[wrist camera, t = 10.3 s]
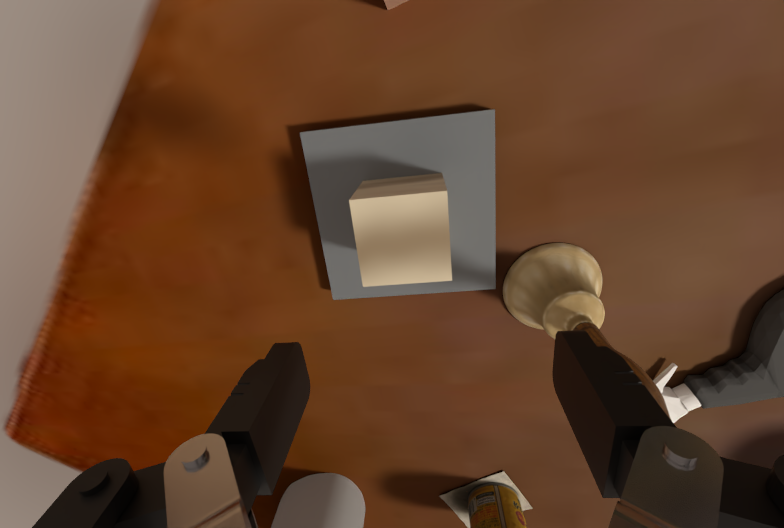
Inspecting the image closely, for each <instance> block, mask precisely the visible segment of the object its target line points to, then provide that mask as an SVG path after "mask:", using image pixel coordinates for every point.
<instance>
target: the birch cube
mask: <svg viewBox="0 0 784 528" xmlns="http://www.w3.org/2000/svg"><path fill="white" fill-rule="evenodd" d="M349 204H350V210H351V216H352V222H353V229H354V235H355V241H356V247H357V254H358V260H359V266H360V272H361V278H362V285H363V287H369V286H383V285H397V284H412V283H426V282H441V281H452V269H451V250H450V232H449V214H448V196H447V188H446V185H445V181H444V178H443V175H442V173H436V174H426V175H416V176H406V177H396V178H386V179H376V180H367V181H362V183H361V184H360V185H359V187H358V188H357V190H356V191H355V192H354V194H353V195H352V197H351V198H350V199H349Z"/></svg>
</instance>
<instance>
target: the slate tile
mask: <svg viewBox="0 0 784 528" xmlns="http://www.w3.org/2000/svg"><path fill="white" fill-rule="evenodd" d="M300 137H301V142H302V147H303V152H304V157H305V162H306V167H307V172H308V177H309V182H310V187H311V192H312V197H313V202H314V207H315V212H316V217H317V222H318V227H319V232H320V237H321V242H322V247H323V252H324V257H325V262H326V267H327V272H328V277H329V282H330V287H331V292H332V297H333V300H337V299H352V298H367V297H382V296H397V295H412V294H427V293H442V292H457V291H472V290H487V289H496V247H495V109H486V110H478V111H469V112H461V113H453V114H444V115H436V116H427V117H419V118H410V119H402V120H394V121H385V122H377V123H368V124H360V125H352V126H343V127H335V128H326V129H318V130H309V131H303V132H300ZM436 173H442V175H443V178H444V181H445V185H446V188H447V196H448V214H449V232H450V250H451V269H452V281H441V282H426V283H412V284H397V285H383V286H369V287H363V285H362V278H361V272H360V266H359V260H358V254H357V247H356V241H355V235H354V229H353V222H352V216H351V210H350V204H349V199H350V198H351V197H352V195H353V194H354V192H355V191H356V190H357V188H358V187H359V185H360V184H361V183H362V181H367V180H376V179H386V178H396V177H406V176H416V175H426V174H436Z"/></svg>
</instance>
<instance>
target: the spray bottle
mask: <svg viewBox="0 0 784 528" xmlns="http://www.w3.org/2000/svg"><path fill="white" fill-rule="evenodd" d="M676 368H677V365H676V364H674V363H672V364H671V365H669V366H668V367H667V368H666V369H665V370H664V371H663V372H662V373H661V374H660V375H659V376H658V377H656V378H655V379H654V380H653V382H654V383H655V384H656V386H657V387H658V389H659V390H660V392H661V394H662V396H663V398H664V400H665V403H666V406H667V409H668V412H669V415H670V418H671V420H672V422H673V423H675V422H676V421H677V420H678V419H679V418H681V417H682V416H684V415H685V414H687V413H688V411H690V410H693V409H695V408H698V407H700V406H701V407H702V408H711V407H720V406H728V405H737V404H744V403H749V402H755V401H760V400H766V399H771V398H777V397H784V289H783V290H782V291H780V292H779V293H777V294H775V295H774V296H773V297H772V298H771V299H770V300H768V301H767V302H766V304H765V305H764V306H763V308H762V309H761V311H760V312H759V314H758V316H757V318H756V320H755V322H754V324H753V327H752V330H751V333H750V337H749V340H748V344H747V348H746V351H745V352H744V353H743V354H742V355H741V356H740V357H739V358H736V359H732V360H729V361H728V362H727V363H726V364H724V365H723V366H719V367H714V368H710V369H709V370H707V371H706V372H705V373H704V374H703V375H687V377H686V378H685V380H684V383H683V384H681V385H679V386H676V387H674V388H672V389H671V388H670V387H664V386H665V385H666V383H667V382H668V380H669V379H670V378H671V376H672V375H673V373H674V372H675V370H676Z"/></svg>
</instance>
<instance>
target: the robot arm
mask: <svg viewBox="0 0 784 528" xmlns="http://www.w3.org/2000/svg"><path fill="white" fill-rule="evenodd" d="M553 383H554V388H555V391H556V394H557V396H558V398H559V400H560V403H561V405H562V407H563V409H564V412H565V414H566V416H567V418H568V421H569V423H570V425H571V427H572V430H573V432H574V434H575V436H576V439H577V441H578V443H579V445H580V448H581V450H582V452H583V454H584V456H585V459H586V461H587V463H588V465H589V468H590V470H591V472H592V474H593V477H594V479H595V481H596V483H597V486H598V488H599V490H600V492H601V495H602V497H603V498H620V502H619V501H618V502H617V504H616V507H615V510H614V512H613V515H612V518H611V521H610V524H609V527H608V528H784V455H783V456H781V457H779V458H778V459H777V460H776V461H775V463H774V466H773V468H772V469H768V468H764V467H760V466H755V465H751V464H747V463H742V462H738V461H734V460H730V459H726V458H723V457H720V456H719V455H718V454H717V452H716V451H715V450H714V449H713V448H712V447H711V446H710V445H709V444H707V443H706V442H705V441H703V440H702V439H700V438H699V437H697V436H695V435H694V434H692V433H689V432H687V431H685V430H682V429H679V428H676V426H675V425H674V424H673V422H672V421H671V420H670V418H669V417H668V416H667V414H666V413H665V412H664V411H663V409H662V408H661V407H660V405H659V404H658V403H657V401H656V400H655V399H654V397H653V396H652V395H651V394H650V392H649V391H648V390H647V388H646V387H645V386H644V385H642V382H641V380H640V379H639V378H638V376H637V375H636V374H634V373H633V370H632V369H631V367H630V366H629V365H628V363H627V362H626V361H625V359H624V358H623V357H622V356H620V355H619V354H617V353H616V352H614V351H613V350H611V349H610V348H608V347H607V346H601V347H597V346H596V344H595V343H594V341H593V340H592V338H591V337H590V336H589V334H588V333H587V331H585V330H571V331H558V332H557V333H556V337H555V348H554V361H553ZM309 394H310V380H309V375H308V371H307V367H306V363H305V359H304V355H303V351H302V348H301V345H300V344H299V343H298V342H292V343H275V344H274V345H273V346H272V348H271V349H270V351H269V353H268V354H267V356H266V358H265V359H260V360H258V361H257V362H255V363H254V364H253V365H252V366H251V367H249V368H248V369H247V370H246V371H245V372H244V374H243V376H242V377H241V379H240V380H239V382H238V385H236V386H235V388H234V389H233V391H232V393H231V396H229V397H228V399H227V400H226V402H225V403H224V405H223V406H222V408H221V410H220V411H219V413H218V414H217V416H216V417H215V419H214V420H213V422H212V423H211V425H210V426H209V428H208V430H207V431H206V433H205V434H203V435H199V436H196V437H194V438H192V439H190V440H188V441H186V442H185V443H183V444H182V445H181V446H179V447H178V448H177V449H176V450H175V451H174V452H173V453H172V454H171V455H170V457H169V458H168V460H167V462H165V463H161V464H158V465H154V466H151V467H147V468H144V469H141V470H137V471H133V470H132V468H131V466H130V464H129V463H128V462H127V461H126V460H124V459H120V458H116V459H110V460H106V461H103V462H100V463H98V464H96V465H94V466H92V467H91V468H89V469H87V470H86V471H84V472H83V473H81V474H80V475H79V476H78V477H76V478H75V479H74V480H73V481H72V482H71V483H70V484H69V485H68V486H67V488H66V489H65V490H64V491H63V492H62V493H61V494H60V496H59V497H58V498H57V499H56V500H55V501H54V503H53V504H52V505H51V506H50V507H49V509H48V510H47V511H46V512H45V513H44V514H43V516H42V517H41V518H40V519H39V520H38V521H37V522H36V524H35V525H34V526H33V527H32V528H258V526H257V523H256V519H255V516H254V513H253V510H252V508H251V507H252V505H253V503H254V500H255V498H256V495H272V494H273V491H274V488H275V486H276V483H277V480H278V478H279V475H280V472H281V470H282V467H283V465H284V462H285V459H286V457H287V454H288V451H289V449H290V446H291V444H292V441H293V438H294V436H295V433H296V430H297V428H298V425H299V422H300V420H301V417H302V415H303V412H304V409H305V407H306V404H307V401H308V399H309Z"/></svg>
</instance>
